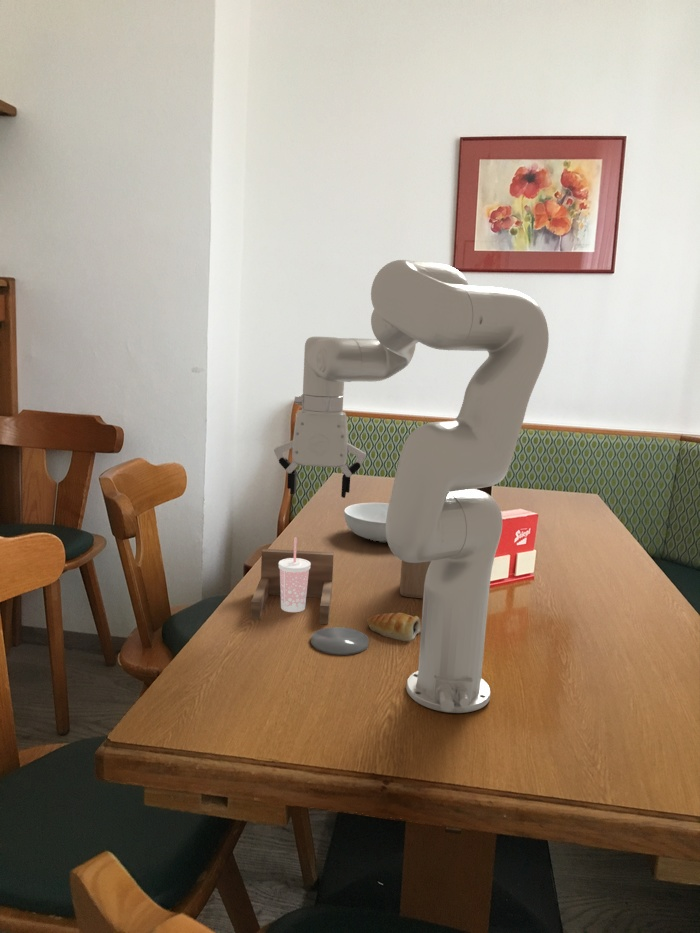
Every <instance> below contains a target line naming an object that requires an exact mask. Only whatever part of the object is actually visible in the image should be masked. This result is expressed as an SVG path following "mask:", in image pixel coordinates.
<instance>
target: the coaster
mask: <svg viewBox="0 0 700 933" xmlns="http://www.w3.org/2000/svg"><path fill="white" fill-rule="evenodd" d="M369 640H370V639H369V637H368V636H367V635H366V633H365V632H362V631H360V630H357V629H354V628H349V627H343V626H342V627H339V626H335V627H331V626H330V627H325V628H322V629H319V630H317V631H315V632H314V633H312V634H311V637H310V644H311V645H312V647H313V648H315V649H316V650H317V651H320V652H322V653H325V654H330V655H337V656H348V655H349V656H350V655H356V654H359V653H361V652H364V651H366V650H367V649H368V647H369V644H370V641H369Z"/></svg>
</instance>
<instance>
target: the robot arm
mask: <svg viewBox="0 0 700 933" xmlns="http://www.w3.org/2000/svg"><path fill="white" fill-rule="evenodd" d="M371 285H372V286H371V289H370V300H371V304H372V307H373V311H372V313H371V315H370V316H371V317H370V323H371V324H370V326H371V330H372V332H373V335H374V337H375V338H355V337H354V338H353V337H352V338H351V337H349V338H348V337H346V338H345V337H343V338H342V337H334V336H333V337H332V336H330V337H329V336H310V337H308V338H307V339H306V341H305V344H304V356H303V357H304V358H303V361H304V362H303V377H302V378H303V380H302V394H301V395H300V396H294V404H296V405H299V406H300V407H301V409H299V410H297V413H296V418H295V423H294V430H293V438H292V440H290V441H286V443H285V442H284V443H282V444H281V445H278V446H276V447H275V448H274V449H273V452H274V454H275V456H276V458H277V460H278V463H279V464H280V466H281V467H282V468H284V470H285V472H286V473H287V489H289V490H290V495H295V493H296V491H297V477H298V476H297V475H298V472H297V471H296V470H297V469H296V468H298V466H307V467H309V466H310V467H320V468H321V467H322V468H340V470H341V472H342V473H343V474H342V478H341V479H342V480H341V494H340V495H341V496H340V497H341V498H343V499H345V498H346V495H347V493H350V491H351V490H350V487H351V486H350V485H351V476H352V475H354V474H355V472H357V471H358V470H359V469H360V468H361V466H362V465H363V463H364V461H365V460H366V458H367V453H366V452H365V451H363V450H361V449H359V448H357V447H356V446H354V445H353V444H351V443H349V439H348V438H349V434H348V433H349V431H348V430H349V428H348V418H347V413H346V412H345V411H344V412H343V407H344V394H345V392H344V390H345V383H351V382H375V383H376V382H381V381H384V380H388V379H389V378H391V377H393V376H395V375H396V374H398V373H399V372H401V371H402V370H404V369H405V368H406V367H408V366H409V364H410V363H411V361H412V359H413V357H414V355H415V351H416V345H417V344H418V343H420V344H423V345H424V346H426V347H429V348H431V349H434V350H441V351H442V350H443V351H466V352H467V351H468V352H469V351H472V352H474V351H475V352H477V351H478V352H479V351H480V352H487V353H488V357H487V358H486V360H484V362H483V363H482V364H481V365H480V366H479V367H478V368H476V371H475V372H474V373H473V375H472V377H471V378H470V380H469V382H468V384H467V386H466V389H465V392H464V396H463V399H462V401H463V402H462V404H461V406H460V410H459V413H458V415H457V416H456V417H455V419H453V420H446V421H432V422H428V423H427V422H426V423H423V424H422V425H420V426H418V427H416V428H415V429H414V430H412V432H411V433H410V434H409V436H408V437H407V438H406V440H405V442H404V444H403V446H402V449H401V451H400V456H399V458H398V463H397V468H396V472H395V477H394V480H393V481H394V482H393V484H392V485H393V486H392V490H391V493H390V498H389V501H388V503H389V506H388V511H387V516H386V538H387V544H388V547H389V549H390V551H391V552H392V554H393V555H394V556H395V557H396V558H397V559H398V560H400V561H401V562H402V561H405V562H409V563H420V562H428V561H431V563H430V565H429V567H428V570H427V573H426V577H425V583H424V595H423V598H422V610H421V612H422V613H421V622H420V625H421V630H420V637H419V638H420V640H419V650H418V651H419V653H418V654H419V655H418V669H417V671H414V672H413V673H411V674H410V675H409V677H408V678H407V681H406V691H407V694H408V695H409V697H410V698H411V699H412V700H414V702H416V703H417V704H419V705H421V706H423V707H426V708H428V709H431V710H434V711H437V712H443V713H451V714H463V713H465V714H466V713H470V712H474V711H478V710H481V709H482V708H484V707H485V706H486V705H487V704H489V703H490V702H489V701H490V699H491V688H490V686H489V684H488V683H487V682H486V681H485V680H484V679H483V678H482V672H483V665H484V664H483V661H484V653H485V639H486V628H487V620H488V619H487V618H488V607H489V606H488V605H489V599H490V587H491V578H492V571H493V566H494V562H495V561H494V560H495V558H496V557H495V556H496V553H497V550H498V546H499V544H500V540H501V536H502V532H503V531H502V530H503V515H502V512H501V508H500V506H499V504H498V503H497V501H496V500H495V499H494V497H492V496H491V495H490V494H489V493H487V492H485V491H483V490H480V489H482V488H483V489H484V488H488V487H492V486H494V485H497V484H499V483H501V481H503V479H505V477H506V475H507V473H508V471H509V469H510V467H511V466H510V465H511V463H512V460H513V456H514V454H515V451H516V448H517V444H518V439H519V437H520V433H521V430H522V426H523V424H524V419H525V416H526V412H527V408H528V406H529V405H528V404H529V401H530V399H531V396H532V393H533V391H534V388H535V386H536V383H537V382H538V379H539V376H540V374H541V372H542V369H543V367H544V364H545V360H546V358H547V354H548V349H549V340H550V338H549V337H550V336H549V335H550V334H549V327H548V323H547V319H546V316H545V313H544V311H543V310H542V308H541V307H540V306H539V304H538V303H537V302H536V301H535V300H534V299H532V298H531V297H530V296H528V295H527V294H524V293H522V292H520V291H518V290H514V289H510V288H509V289H508V288H505V287H504V288H503V287H495V286H483V285H480V286H479V285H469V283H468V280H467V279H466V277H465V276H464V274H463V273H462V272H461V271H459V269H456V268H455V267H454V266H453V267H452V266H450V265H448V264H444V263H437V262H428V261H418V260H409V259H408V260H407V259H398V260H393V261H390V262H389V263H386V264H385V265H384V266H383V267H382V268H380V269H379V271H378V272H377V273H376V275H375V276H374V279H373V282H372V284H371ZM291 449H292V452H291V453H292V454H291V457H292V460H291V462H290V461H289V460H288V458H287V457H286V456H285V453H284V452H286V451H288V450H291ZM348 453H350V454H352V455H353V456H355V457H357V458H356V460H355V462H353V464H352V465H349V464H348V463H347V460H348Z"/></svg>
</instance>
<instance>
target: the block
mask: <svg viewBox="0 0 700 933" xmlns="http://www.w3.org/2000/svg"><path fill="white" fill-rule="evenodd" d="M430 563H431V561H428V562H420V563H409V562H405V561H402V560H401V564H400V565H401V567H400V578H399V579H400V580H399V582H400V583H399V593H400V595H401V596H402V597H407V598H415V599H417V598H418V599H423V595H424V583H425V577H426V573H427V570H428V567H429V565H430Z"/></svg>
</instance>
